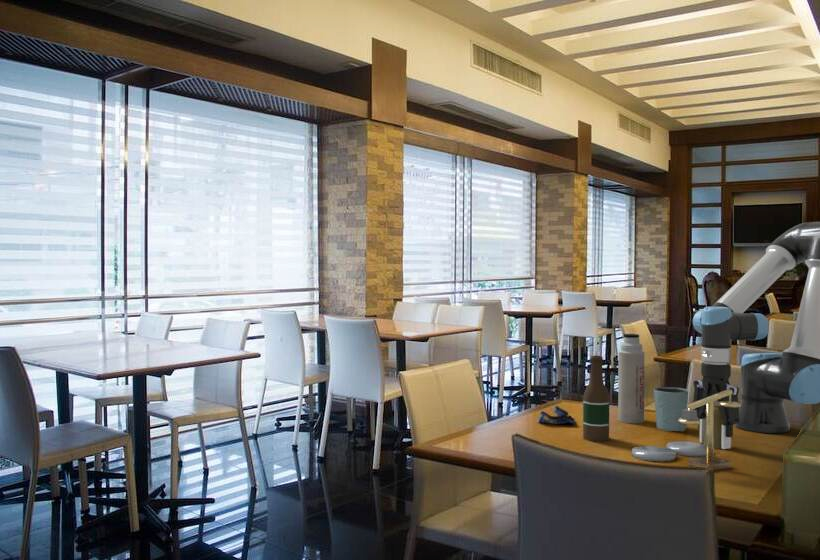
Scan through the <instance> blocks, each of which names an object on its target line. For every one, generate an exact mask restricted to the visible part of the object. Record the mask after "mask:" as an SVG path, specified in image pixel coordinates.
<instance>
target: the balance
mask: <svg viewBox="0 0 820 560" xmlns="http://www.w3.org/2000/svg"><path fill="white" fill-rule="evenodd" d="M731 394H733V393H732V390H730V389H727V390H725V391H722V392H720V393H717V394H714V395H712V396H709V397H707V398H704V399H702V400H699V401H696V402H694V403H693V402H692V403H689V404H687V409H683V410H682V418H679V422H680V423H683V424H686V425H692V426H693V425H694V426H695V425H696V426H697V425H698V424H700V420H699V419H698V417H697V410H693V409H695V408H698V407H700V406H703V405H705V404H707V427H706V456H699V457H694V458H689V459H688V465H687V466H690V465H692V466H691V467H693V468H696V467H705V468H711V469H713V471H718V470H726V469H730V468H732V461H730V460H728V459H724V458H722V457H719V456H715V455H714V448H713V423H714V406H715V405H714V404H715V403H714V402H715V401H717V400H718V399H721V398H723V397H726V396H728V395H729V401H721V402H718V406H719V405H720V406H724V407H741V402H739V401H738V402H732V401H731Z"/></svg>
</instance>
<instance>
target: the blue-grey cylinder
mask: <svg viewBox="0 0 820 560" xmlns="http://www.w3.org/2000/svg"><path fill="white" fill-rule="evenodd" d="M653 398H654V405H655V406H654V408H655V420H656V421H655V425H656V429H658V430H660V429H661V430H660V431H664V430H665V432H671V431H681V432H685V431H686V430H687V424H683V423H680V422H679V418H682V410H683V409H688V407H687V405H688V403H689V390H688V389H686V388H682V387H671V386H669V387H668V386H661V387H660V386H659V387H654V388H653ZM684 430H685V431H684Z"/></svg>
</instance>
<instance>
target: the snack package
mask: <svg viewBox="0 0 820 560" xmlns="http://www.w3.org/2000/svg"><path fill="white" fill-rule="evenodd" d="M552 412H553V413H554V414H555V415H553V416H552V415H550V414H549V413H547V412H546V411H541V412H540V413H539V416H538V417H537V419H536V423H538V422H539V423H544V422H545V423H546V424H552V425H554V424H557V425H558V424H562V425H564V424H567V423H570V424H573V425H576V419H575V418H574V417H572V415H569V412H568V411H567V410H566V409H563V408H562V407H560V406H557V405H554V406H553V408H552ZM545 423H544V424H545Z"/></svg>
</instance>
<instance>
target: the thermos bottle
mask: <svg viewBox="0 0 820 560" xmlns="http://www.w3.org/2000/svg"><path fill="white" fill-rule="evenodd" d="M622 336H623V343H621V344H620V350H618V363H617V365H618V370H617V371H618V373H617V375H618V376H617V377H618V387H617V388H618V390H617V393H618V397H617V398H618V400H617V401H618V405H617V407H618V408H617V412H618V413H617V415H618V417H617V421H619V422H621V423H625V424H642V423H644V422H645V357H646V355H645V351H643V345H642V343H640V334H637V333H624V334H622Z"/></svg>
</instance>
